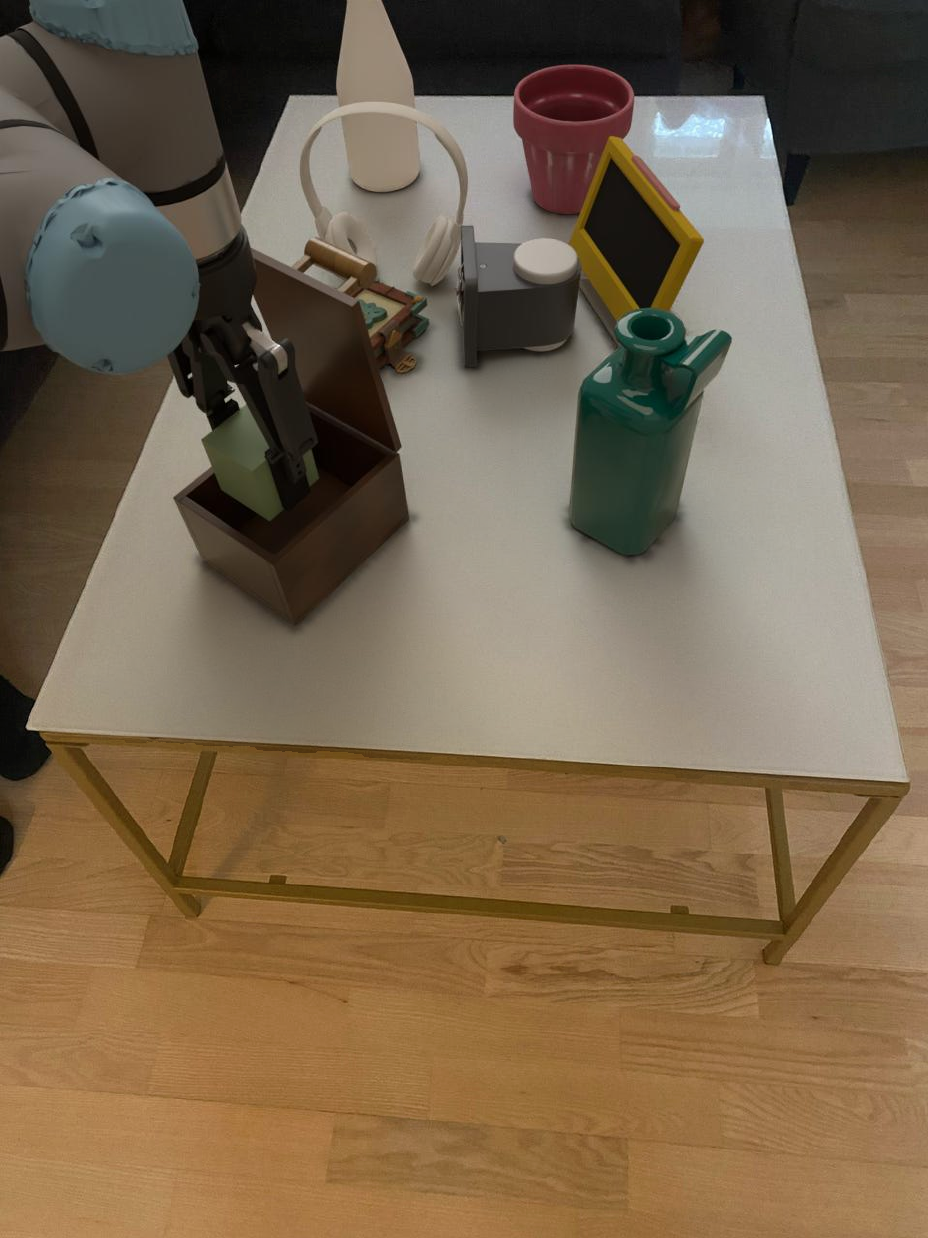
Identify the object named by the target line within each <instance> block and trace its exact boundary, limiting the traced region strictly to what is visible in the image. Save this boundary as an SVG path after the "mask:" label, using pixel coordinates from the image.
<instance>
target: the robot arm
mask: <svg viewBox="0 0 928 1238" xmlns="http://www.w3.org/2000/svg"><path fill="white" fill-rule="evenodd" d="M28 1H29V7H28V10H29V14H30V16H31V18H32V21H31V22H30V23H27V24H24V25H22V26H19V27H17V28H15V30H14V31H13V32H9V33H6V34H4V35H2V36H0V352H7V351H9V352H10V351H16V350H21V349H26V348H31V347H38V346H44V345H46V347H47V348H48V349H49V350H51V351H52V352H53V353H58V354H59V355H60V356H61V357H63V359H67V360H68V361H70V362H71V363H72V364H74V365H76V366H78V367H80V368H83V369H85V370H88V371H91V372H94V373H100V374H106V375H109V376H123V375H129V374H133V373H138V372H141V371H144V370H147V369H149V368H151V367H153V366H155V365H156V364H158V363H159V362H160V361H162V360H163V359H165V358H166V357H167V360H168V362H169V365H170V368H171V370H172V371H171V372H172V374H173V376H174V379H175V383H176V385H177V387H178V390H179V392H180V394H181V395H182V396H183V397H184V398H186V399H190V398H191V397H192V398H194V399H195V404H196V407H197V408H198V410H199V411H201V413H204V414H205V415H206V419H207V421H208V424H209V427H210V429H211V431H213V430H214V429H215V428H217V427H218V426H219V425H220V424H222V423H223V422H224V421H225V420H227V419H228V418H229V417H231V416H232V415H233V414H234V413H236V412H237V411H238V410H240V409H241V408H240V405H239V402H238V401H237V400H235V399H233V398H229V399H228V400H225V399H227V398H228V397H230V395H232V394H234V393H235V391H236V389H235V388H234V387H232V385H230V384H229V383H233V384H235V385H236V388H237V390H238V391H239V393H240V395H241V397H242V398H243V400H244V403H245V405H246V404H247V406H248V408H249V410H250V412H251V414H252V416H253V418H254V419H255V421H256V423H257V425H258V427H259V429H260V431H261V433H262V435H263V437H264V438H265V440H266V442H267V444H268V446H269V449H268V450H266V451H265V452H264V453H265V456H264V457H265V459H266V460H267V461H268V464H269V467H270V470H271V473H272V476H273V480H274V483H275V486H276V489H277V492H278V495H279V498H280V501H281V504H282V507H283V508H284V509H286V510H287V511H290V510H291V509H292V508H293V507H295V506H296V505H297V504H298V503H299V502H300V501H301V500H303V499H304V498H305V497H306V496H307V495H308V494H309V493H311V490H310V486H309V482H308V479H307V475H306V472H307V469H306V466H305V462H304V459H303V455H304V454H306V453H307V452H308V451H309V450H310V449H312V448H313V447H314V446H315V445H316V444H318V439H317V436H316V433H315V429H314V426H313V423H312V420H311V416H310V413H309V410H308V407H307V403H306V400H305V397H304V394H303V390H302V387H301V384H300V381H299V377H298V374H297V371H296V368H295V348H294V346H293V344H292V343H291V342H290V341H289V340H288V339H286V338H283V339H282V340H281V341H279V342H278V343H277V344H276V343H275V342H274V341H273V340H272V339H271V337H269V336H268V335H267V334H265V333H264V332H263V324H262V322H261V320H260V318H259V317H258V315H257V313H256V311H255V310H254V308H253V306H252V301H253V297H254V296H253V292H254V289H255V286H256V283H257V269H256V265H255V261H254V258H253V254H252V250H251V248H252V247H251V243H250V240H249V236H248V232H247V230H246V228H245V226H244V225H243V224H242V222H243V218H242V213H241V211H240V206H239V203H238V200H237V196H236V193H235V189H234V186H233V181H232V178H231V175H230V171H229V167H228V163H227V159H226V154H225V151H224V148H223V144H222V141H221V138H220V134H219V130H218V126H217V123H216V118H215V114H214V111H213V108H212V103H211V100H210V95H209V91H208V87H207V84H206V80H205V77H204V76H205V75H204V72H203V67H202V64H201V60H200V56H199V52H198V51H199V43H198V40H197V38H196V36H195V35H194V30H193V28H192V25H191V23H190V19H189V16H188V13H187V10H186V7H185V3H184V0H28ZM189 375H191V376H190V377H189ZM228 382H229V383H228Z"/></svg>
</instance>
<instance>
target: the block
mask: <svg viewBox="0 0 928 1238" xmlns="http://www.w3.org/2000/svg"><path fill="white" fill-rule="evenodd" d="M200 441H201V443H202V446H203V448H204V451H205V453H206V455H207V458H208V461H209V463H210V465H211V466H210V467H212V468H213V470H214V473H215V475H216V478H217V480H218V483H219V485H220V488H221V490H222V491H224V492H225V493H227V494H229V495H230V496H232V497H233V498H235V499H236V500H238V501H239V502H241V503H242V504H244V505H245V506H247V507H248V508H250V509H251V510H253V511H255V512H256V513H258V514H259V515H261V516H262V517H264V518H265V519H267V520H268V521H271V520H272V519H273V518H274V517H275V516H277V515H278V514H279V513H280V512H281V511H282V510H283V509H284V508H283V507H282V504H281V501H280V498H279V495H278V492H277V489H276V486H275V483H274V480H273V476H272V473H271V470H270V467H269V464H268V461H267V460H266V459H265V457H264V456H265V453H264V452H265V451H266V450H268V449H269V446H268V444H267V442H266V440H265V438H264V437H263V435H262V433H261V431H260V429H259V427H258V425H257V423H256V421H255V419H254V418H253V416H252V414H251V412H250V410H249V408H248V406H247V404H246V403H245V405H243V406H242V407H241V408H240V410H238V411H237V412H236V413H234V414H233V415H232V416H231V417H229V418H228V419H227V420H225V421H224V422H223V423H222V424H220V425H219V426H218V427H217V428H215V429H214V430H213V431H212V430H211V431H210V432H208V434H206V435H205V436H203V437H202V438H201V439H200ZM303 459H304V462H305V466H306V469H307V472H306V475H307V479H308V482H309V486H311V485H312V484H313V483H314V482H316V481H317V480H318V479H319V476H318V472H317V469H316V465H315V461H314V458H313V454H312V450H311V449H310V450H309V451H308V452H307V453H306V454H304V455H303Z"/></svg>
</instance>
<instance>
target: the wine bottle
mask: <svg viewBox="0 0 928 1238" xmlns="http://www.w3.org/2000/svg"><path fill="white" fill-rule="evenodd" d="M383 3H384V2H383V1H382V0H346V9H345V17H344V23H343V29H342V30H343V31H342V37H341V38H342V39H341V44H340V51H339V59H338V64H337V71H336V82H335V84H336V85H335V88H336V96H337V102H338V108H340V107H342V106H346V105H349V104H353V103H360V102H389V103H396V104H401V105H405V106H408V107H411V108H414V109H416V101H415V89H414V79H413V76H412V73H411V70H410V67H409V64H408V62H407V59H406V57H405V54H404V52H403V49H402V47H401V45H400V42H399V40H398V37H397V35H396V32H395V31H394V28H393V26H392V23H391V21H390V18H389V16H388V13H387V11H386V8H385V6H384V4H383ZM340 120H341V127H342V133H343V138H344V145H345V151H346V157H347V162H348V163H347V164H348V171H349V174H350V176H351V179H352V180H353V183H355V184H356V185H357V186H358V187H360V188H362V189H364V190H366V191H370V192H374V193H375V192H376V193H388V192H394V191H397V190H400V189H403V188H405V187H408V186H409V185H411V184H412V183H413V182H414V181H415V180H416V179H417V177H418V176H419V173H420V171H421V156H420V146H419V145H420V144H419V134H418V122H415V121H413V120H411V119H408V118H405V117H402V116H398V115H393V114H387V113H376V112H364V113H354V114H349V115H344V116H341V117H340Z"/></svg>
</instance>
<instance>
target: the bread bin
mask: <svg viewBox="0 0 928 1238" xmlns="http://www.w3.org/2000/svg"><path fill="white" fill-rule="evenodd" d="M306 403H307V407H308V410H309V413H310V416H311V420H312V423H313V426H314V429H315V433H316V436H317V439H318V444H316V445H315V446H314V447H313V448H312V449H311V450H312V454H313V458H314V461H315V465H316V469H317V472H318V476H319V479H318V480H317V481H316V482H314V483H313V484H312V485H311V486H310V490H311V493H309V494H308V495H307V496H306V497H305V498H304V499H303V500H301V501H300V502H299V503H298V504H297V505H296V506H295V507H293V508H292V509H291V510H290V511H287V510H286V509H283V510H282V511H281V512H280V513H279V514H278V515H277V516H275V517H274V518H273V519H272V520H271V521H268V520H267V519H265V518H264V517H262V516H261V515H259V514H258V513H256V512H255V511H253V510H251V509H250V508H248V507H247V506H245V505H244V504H242V503H241V502H239V501H238V500H236V499H235V498H233V497H232V496H230V495H229V494H227V493H225V492H224V491H222V490H221V488H220V485H219V483H218V480H217V478H216V475H215V473H214V470H213V468H212V466H210V467H209V468H207V470H205V471H204V472H203V473H202V474H201V475H199V476H198V477H196V478H195V479H194V480H193V481H191V482H190V483H189V484H187V486H185V487H184V488H182V489H181V490H180V491H179V492H178V493H176V494H175V495H174V496H173V498H172V500H174V503H175V505H176V507H177V509H178V511H179V513H180V516H181V518H182V520H183V522H184V524H185V527H186V528H187V531H188V533H189V535H190V537H191V540H192V541H193V543H194V545H195V548H196V549H197V552H198V554H199V556H200V558H201V560H202V561H203V562H205V563H206V564H208V565H209V566H210V567H212V568H213V569H214V570H216V571H218V572H219V573H220V574H222V575H223V576H225V577H226V578H227V579H229V580H230V581H231V582H233V583H235V584H236V585H237V586H238V587H240V588H242V589H243V590H244V591H245V592H247V593H248V594H249V595H251V596H252V597H254V598H256V599H257V600H258V601H260V602H261V603H263V604H264V605H265V606H267V607H268V608H270V609H271V610H272V611H274V612H275V613H276V614H278V615H280V616H281V617H283V618H284V619H285V620H286V621H288V622H290V623H291V624H292V625H293V626H298V625H299V624H300V623H301V622H302V621H303V620H304V619H305V618H306V617H308V615H309V614H311V613H312V612H313V611H314V610H315V609H316V608H317V607H318V606H319V605H320V604H321V603H322V602H323V601H324V600H325V599H327V597H328V596H329V595H330V594H332V593H333V592H334V591H335V590H336V589H337V588H338V587H339V586H340V585H341V584H343V582H344V581H345V580H346V579H347V578H349V577H350V576H351V575H352V574H353V573H354V572H355V571H356V570H357V569H358V568H359V567H360V566H361V565H362V564H363V563H364V562H365V561H367V559H369V558H370V557H371V556H372V555H373V554H374V553H375V552H376V551H377V550H378V549H379V548H380V547H381V546H383V545H384V544H385V543H386V542H387V541H388V540H389V539H390V538H391V537H392V536H393V535H394V534H395V533H396V532H398V530H399V529H400V528H402V526H404V524H406V523H407V522H408V521H409V520H410V514H409V507H408V500H407V494H406V486H405V481H404V475H403V469H402V468H403V467H402V460H401V454H400V453H399V452H394V451H392V450H391V449H389V448H387V447H385V446H384V445H382V444H380V443H378V442H377V441H375V440H373V439H371V438H370V437H368V436H366V435H364V434H362V433H361V432H359V431H357V430H355V429H354V428H352V427H350V426H348V425H347V424H345V423H343V422H341V421H340V420H338V419H336V418H334V417H332V416H331V415H329V414H327V413H325V412H324V411H322V410H320V409H318V408H317V407H315V406H313V405H311V404H309V403H308V402H306Z"/></svg>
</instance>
